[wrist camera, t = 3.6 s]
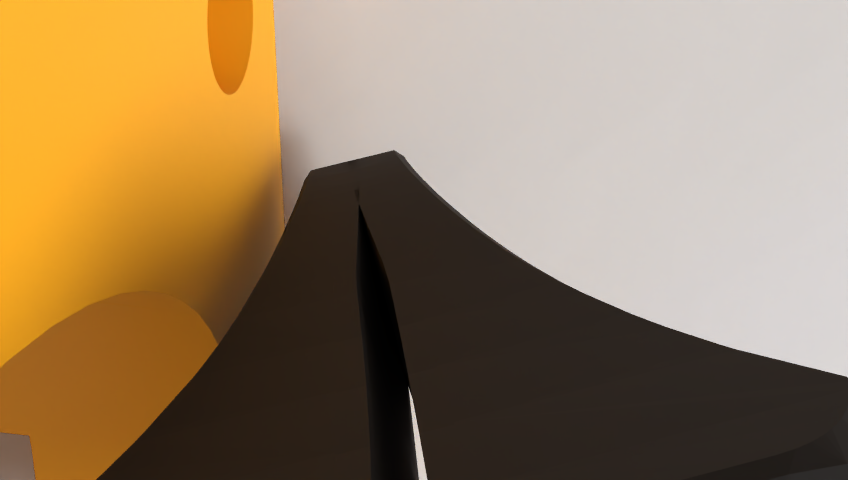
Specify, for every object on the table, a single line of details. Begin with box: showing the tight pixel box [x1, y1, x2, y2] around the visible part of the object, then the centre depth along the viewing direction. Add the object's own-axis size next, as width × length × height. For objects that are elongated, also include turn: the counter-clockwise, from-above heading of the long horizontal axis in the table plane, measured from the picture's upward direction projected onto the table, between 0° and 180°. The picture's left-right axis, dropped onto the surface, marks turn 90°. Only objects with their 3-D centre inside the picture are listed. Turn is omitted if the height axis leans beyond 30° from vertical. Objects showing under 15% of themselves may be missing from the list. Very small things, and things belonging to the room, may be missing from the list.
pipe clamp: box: [0, 0, 285, 480], centre depth 8 cm, size 12×4×6 cm, turn 177°
